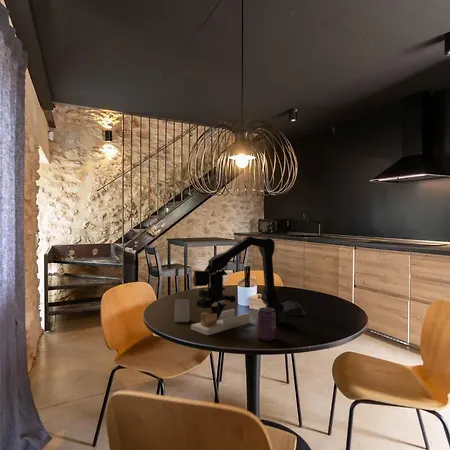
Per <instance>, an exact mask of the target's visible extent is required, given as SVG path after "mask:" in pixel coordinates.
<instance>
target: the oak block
mask: <svg viewBox="0 0 450 450" xmlns="http://www.w3.org/2000/svg"><path fill="white" fill-rule="evenodd" d="M200 322H201V325H203V326H206V327H211V326H215V325H217V313H213V312H212V311H210V310H209V311H206V312H201V313H200Z"/></svg>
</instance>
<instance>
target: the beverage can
mask: <svg viewBox="0 0 450 450" xmlns="http://www.w3.org/2000/svg"><path fill="white" fill-rule="evenodd" d="M258 310H259V311H258V313H257V338H258V339H260V340H261V341H266V342H267V341H268V342H269V341H273V340H275V339H276V338H277V337H276V335H277V334H276V333H277V331H276V330H277V325H276V313H275V309H274V308H269V307H266V306H265V307H259V309H258Z"/></svg>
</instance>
